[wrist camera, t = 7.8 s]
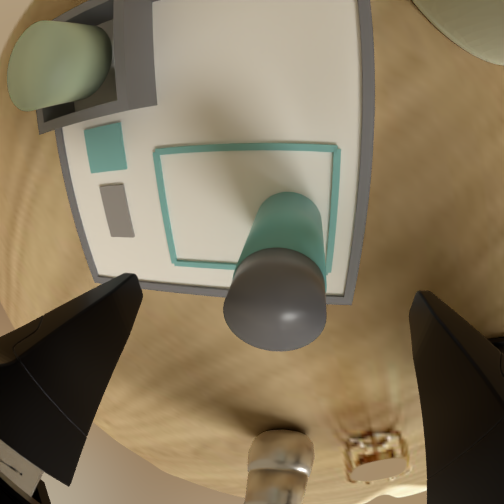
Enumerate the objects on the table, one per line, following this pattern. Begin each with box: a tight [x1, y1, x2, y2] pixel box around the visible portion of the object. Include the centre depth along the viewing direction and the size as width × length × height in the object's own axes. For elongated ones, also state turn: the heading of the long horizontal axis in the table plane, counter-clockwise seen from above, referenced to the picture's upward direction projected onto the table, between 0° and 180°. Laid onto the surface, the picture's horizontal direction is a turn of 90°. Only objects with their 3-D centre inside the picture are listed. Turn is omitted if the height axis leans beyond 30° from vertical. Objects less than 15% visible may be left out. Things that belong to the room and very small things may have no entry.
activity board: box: [36, 0, 375, 305], centre depth 12 cm, size 16×16×3 cm
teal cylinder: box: [223, 192, 327, 351], centre depth 11 cm, size 3×3×6 cm
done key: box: [7, 21, 112, 111], centre depth 8 cm, size 4×4×3 cm
